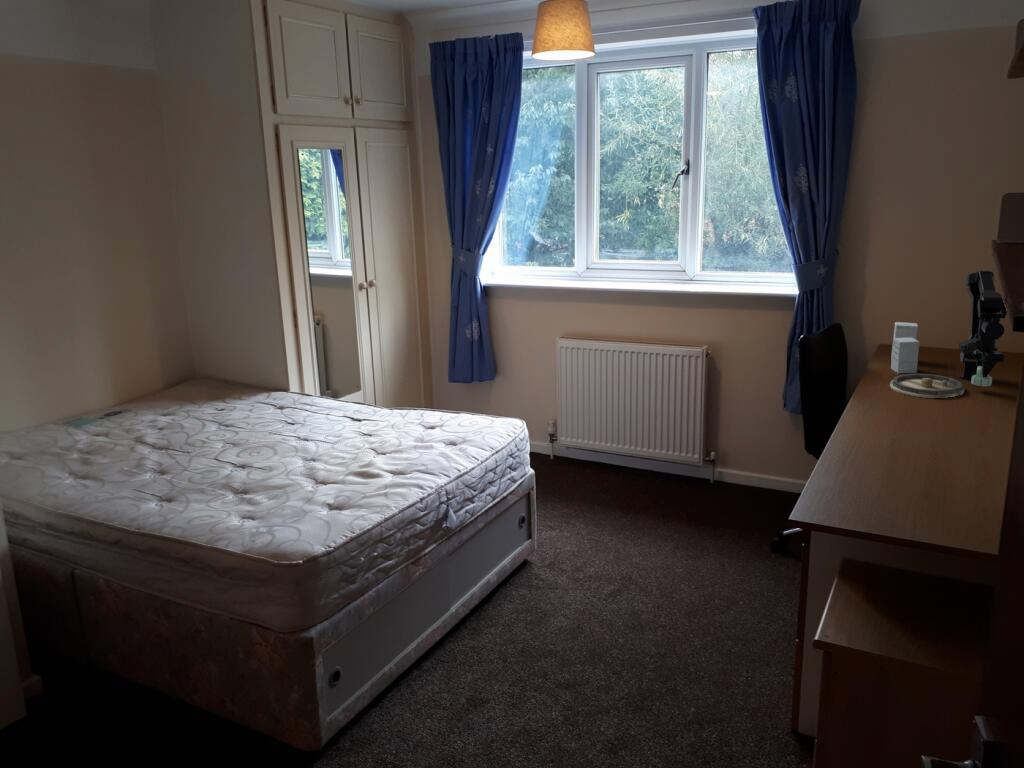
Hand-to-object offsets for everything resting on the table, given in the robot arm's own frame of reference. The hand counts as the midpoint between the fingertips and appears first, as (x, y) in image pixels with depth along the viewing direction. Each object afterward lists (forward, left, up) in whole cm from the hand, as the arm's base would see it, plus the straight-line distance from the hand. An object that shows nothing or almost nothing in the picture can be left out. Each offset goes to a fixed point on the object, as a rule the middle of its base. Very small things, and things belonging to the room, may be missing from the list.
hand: (982, 375), depth 280 cm
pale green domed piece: (0, 0, -3) cm, 3 cm away
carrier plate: (+10, -14, -6) cm, 18 cm away
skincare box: (-19, -40, -6) cm, 45 cm away
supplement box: (-6, -32, -6) cm, 33 cm away
